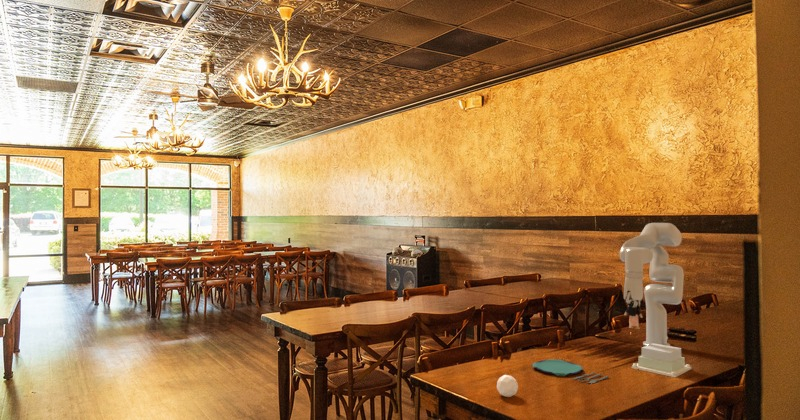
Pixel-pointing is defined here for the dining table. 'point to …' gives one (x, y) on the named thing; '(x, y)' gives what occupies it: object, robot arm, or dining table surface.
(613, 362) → the dining table surface
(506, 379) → the geometric ball
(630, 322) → the grandmother figurine
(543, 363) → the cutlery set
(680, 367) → the white stepped pedestal
